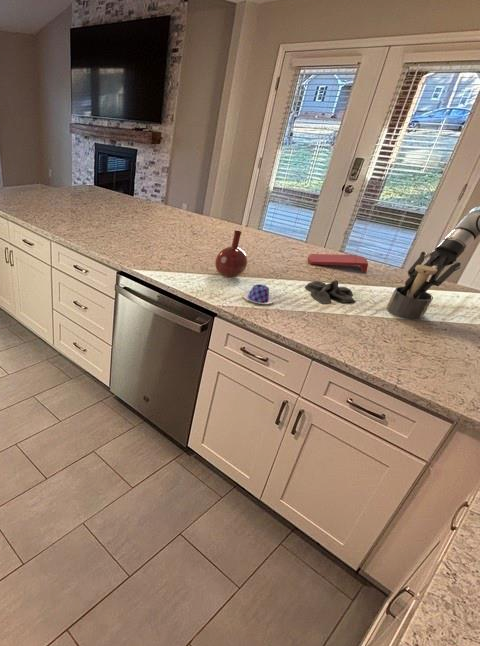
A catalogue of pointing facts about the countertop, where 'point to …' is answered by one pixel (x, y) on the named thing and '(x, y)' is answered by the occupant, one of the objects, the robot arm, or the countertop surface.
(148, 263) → the countertop surface
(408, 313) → the canister
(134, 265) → the countertop surface
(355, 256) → the red bent slab
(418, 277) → the handle
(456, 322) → the countertop surface
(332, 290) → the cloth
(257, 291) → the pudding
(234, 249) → the round-bottom flask
